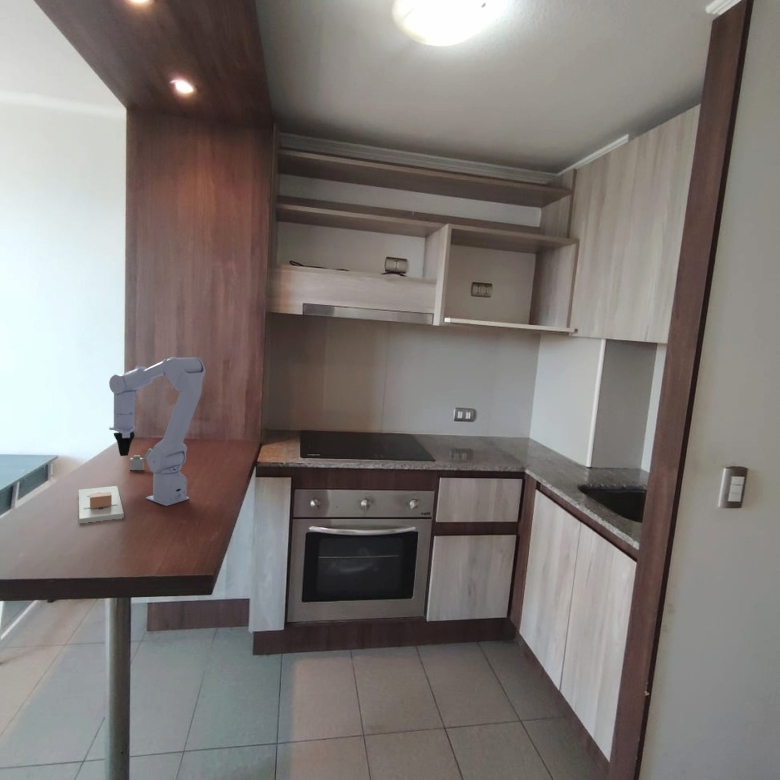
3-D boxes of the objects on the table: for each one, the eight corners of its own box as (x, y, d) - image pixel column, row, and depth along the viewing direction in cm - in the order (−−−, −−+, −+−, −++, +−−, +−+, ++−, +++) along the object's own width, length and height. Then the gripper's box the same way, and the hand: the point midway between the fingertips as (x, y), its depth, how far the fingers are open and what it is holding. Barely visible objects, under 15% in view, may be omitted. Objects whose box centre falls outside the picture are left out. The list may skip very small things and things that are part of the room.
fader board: (78, 494, 145) (78, 489, 145) (116, 490, 150) (117, 485, 150) (79, 524, 125) (79, 518, 125) (123, 518, 130) (123, 512, 130)
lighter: (129, 470, 170) (129, 448, 169) (130, 469, 171) (131, 447, 170) (151, 471, 172) (151, 448, 171) (152, 469, 173) (153, 447, 172)
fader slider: (89, 504, 133) (89, 493, 133) (110, 502, 136) (110, 491, 135) (90, 508, 131) (90, 497, 130) (111, 505, 133) (111, 495, 133)
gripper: (108, 409, 154) (107, 450, 156) (110, 417, 142) (110, 462, 144) (133, 408, 158) (132, 449, 160) (137, 416, 146) (137, 460, 148)
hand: (123, 455), depth 152 cm, fingers closed
